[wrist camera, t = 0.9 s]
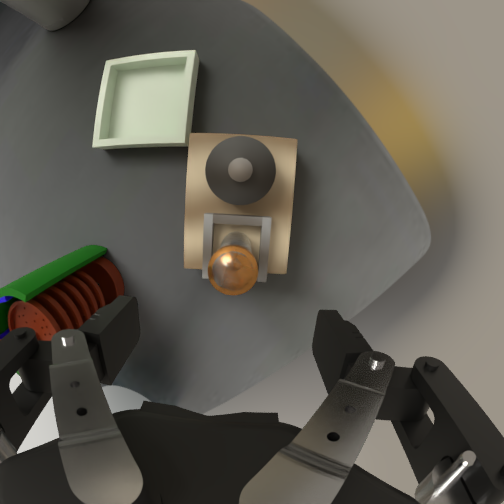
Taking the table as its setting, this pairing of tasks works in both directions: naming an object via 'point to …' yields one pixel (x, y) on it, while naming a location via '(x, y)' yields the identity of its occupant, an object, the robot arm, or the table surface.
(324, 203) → the table surface
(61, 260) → the motor
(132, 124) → the tray
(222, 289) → the pin
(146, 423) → the robot arm
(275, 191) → the pulley block
